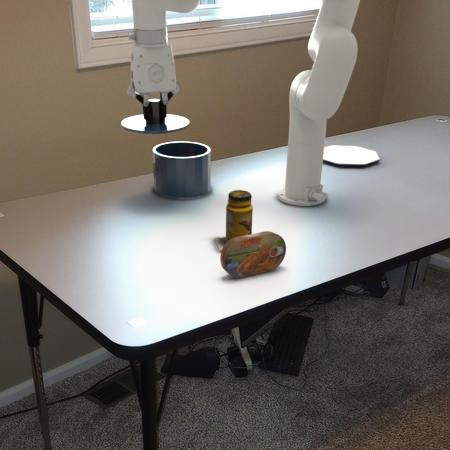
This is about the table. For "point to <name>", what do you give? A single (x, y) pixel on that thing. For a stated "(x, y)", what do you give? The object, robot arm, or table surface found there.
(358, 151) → the plate
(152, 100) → the lid
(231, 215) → the condiment
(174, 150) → the pot
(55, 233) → the table surface
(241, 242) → the tin
